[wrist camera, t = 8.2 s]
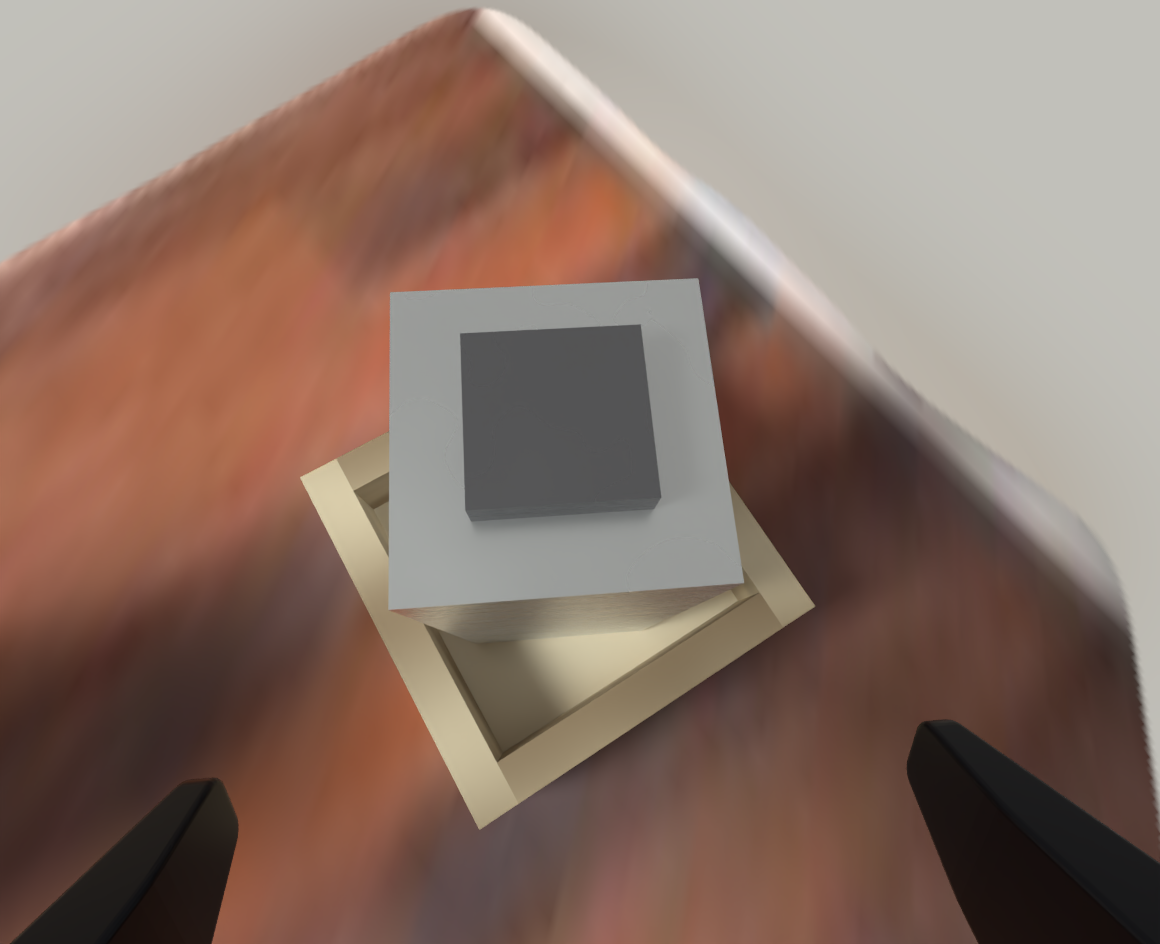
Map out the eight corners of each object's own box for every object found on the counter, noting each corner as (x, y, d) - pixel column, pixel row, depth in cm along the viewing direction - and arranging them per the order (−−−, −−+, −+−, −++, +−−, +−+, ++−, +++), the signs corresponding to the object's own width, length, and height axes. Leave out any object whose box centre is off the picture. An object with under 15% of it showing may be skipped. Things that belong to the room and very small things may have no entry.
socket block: (641, 630, 18) (758, 575, 8) (476, 643, 18) (376, 605, 8) (625, 474, 19) (706, 254, 9) (471, 484, 19) (379, 267, 9)
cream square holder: (775, 616, 19) (815, 606, 16) (491, 803, 17) (479, 829, 15) (605, 362, 21) (613, 313, 19) (336, 506, 20) (299, 477, 17)
